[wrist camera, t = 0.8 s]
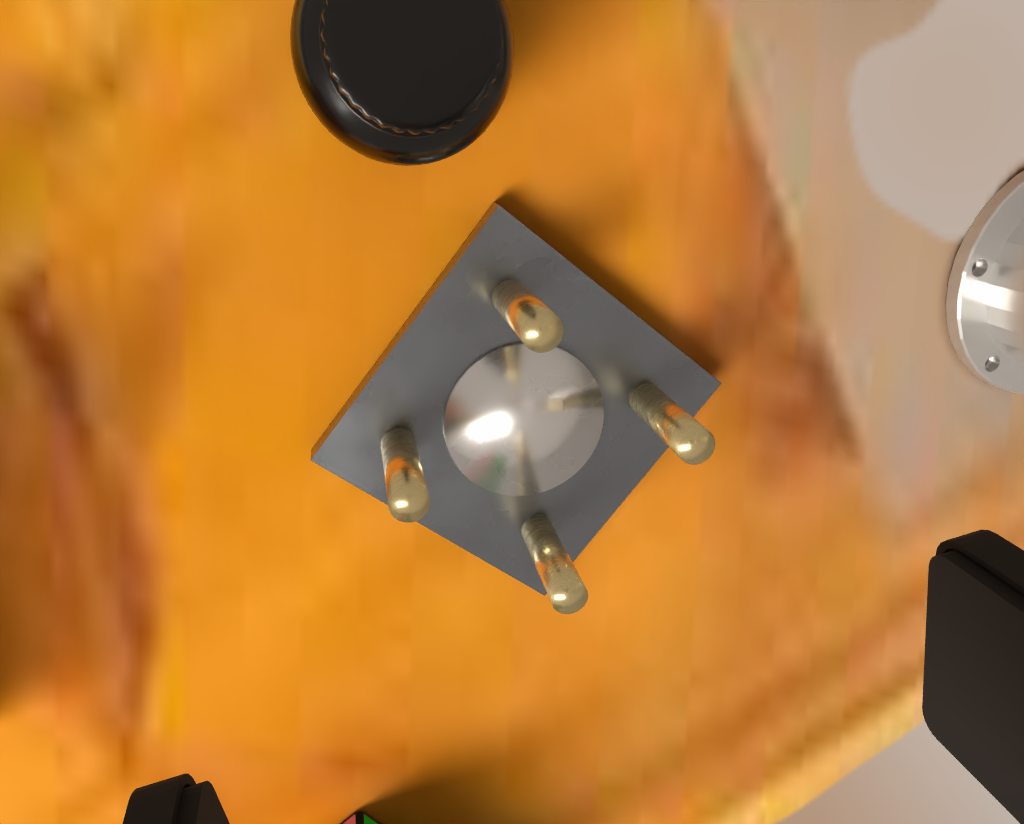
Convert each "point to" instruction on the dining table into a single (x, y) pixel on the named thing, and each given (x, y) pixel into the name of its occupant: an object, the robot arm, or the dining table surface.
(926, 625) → the robot arm
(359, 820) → the puzzle cube
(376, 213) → the dining table surface
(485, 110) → the supplement bottle
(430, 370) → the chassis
